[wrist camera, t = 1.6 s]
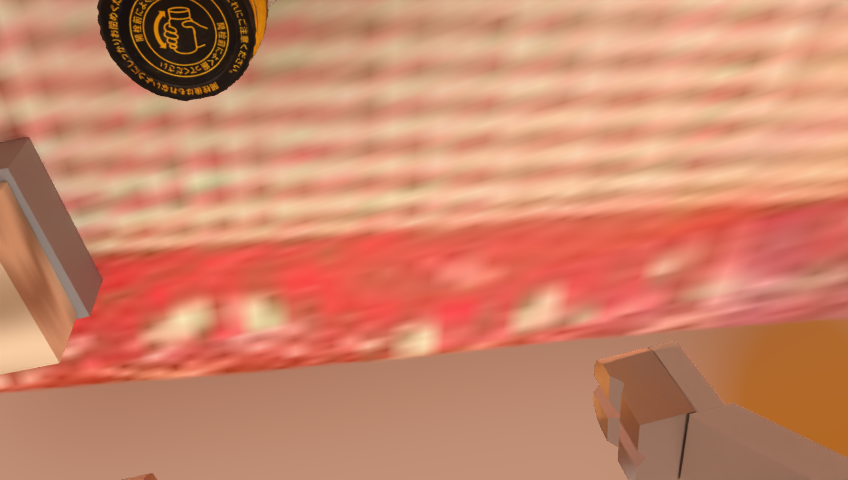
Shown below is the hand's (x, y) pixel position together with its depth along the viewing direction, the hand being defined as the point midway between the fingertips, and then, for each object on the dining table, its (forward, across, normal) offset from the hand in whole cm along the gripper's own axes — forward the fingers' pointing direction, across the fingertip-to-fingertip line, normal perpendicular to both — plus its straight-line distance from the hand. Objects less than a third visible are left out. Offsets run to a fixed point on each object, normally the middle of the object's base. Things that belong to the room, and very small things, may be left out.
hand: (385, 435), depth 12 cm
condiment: (+28, +5, -4) cm, 29 cm away
